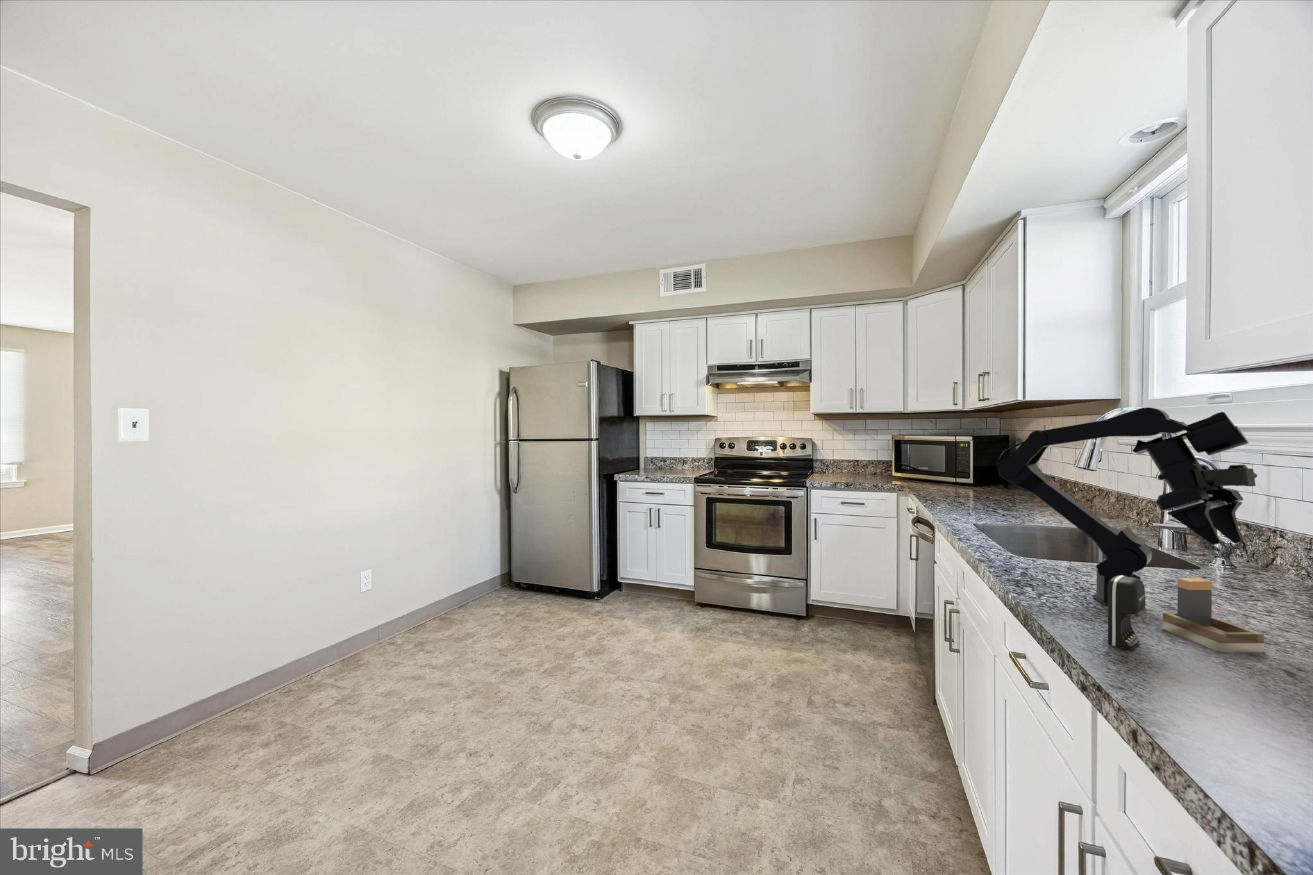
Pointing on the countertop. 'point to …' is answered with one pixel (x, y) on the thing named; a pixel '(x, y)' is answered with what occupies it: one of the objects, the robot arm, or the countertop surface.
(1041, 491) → the robot arm
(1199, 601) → the fader lever
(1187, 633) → the tray
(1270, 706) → the countertop surface
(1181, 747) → the countertop surface
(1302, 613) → the countertop surface
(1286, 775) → the countertop surface
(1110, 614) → the battery charger
